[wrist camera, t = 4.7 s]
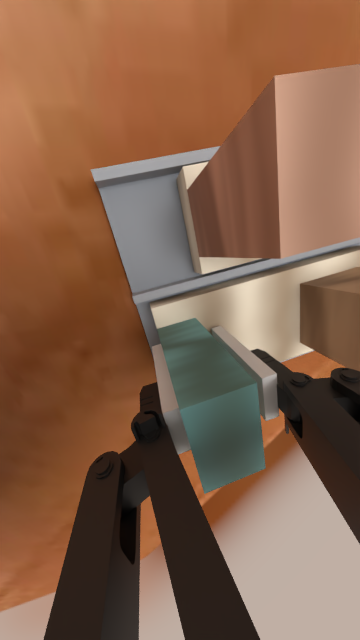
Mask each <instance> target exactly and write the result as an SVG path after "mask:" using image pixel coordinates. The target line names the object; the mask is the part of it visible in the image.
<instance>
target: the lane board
mask: <svg viewBox="0 0 360 640" xmlns="http://www.w3.org/2000/svg"><path fill="white" fill-rule="evenodd" d="M219 148H220V146H218V147H213V148H208V149H202V150H197V151H191V152H186V153H180V154H175V155H169V156H164V157H158V158H153V159H147V160H142V161H136V162H131V163H125V164H120V165H114V166H109V167H103V168H98V169H92V170H91V171H92V175H93V178H94V181H95V183H96V185H97V186H98V188H99V191H100V194H101V197H102V201H103V204H104V207H105V210H106V213H107V216H108V219H109V222H110V225H111V228H112V231H113V235H114V238H115V241H116V244H117V247H118V250H119V253H120V256H121V259H122V262H123V265H124V269H125V272H126V275H127V278H128V281H129V284H130V287H131V290H132V293H133V294H132V297H133V300H134V303H135V304H136V306H137V309H138V312H139V315H140V318H141V321H142V324H143V327H144V330H145V334H146V337H147V340H148V343H149V346H150V349H151V352H152V355H153V351H152V346H155V345H159V344H161V342H160V338H159V335H158V331H157V327H156V324H155V321H154V317H153V314H152V311H151V307H150V303H149V302H152V301H156V300H160V299H163V298H167V297H171V296H174V295H178V294H181V293H185V292H189V291H192V290H196V289H199V288H203V287H207V286H210V285H214V284H218V283H221V282H225V281H228V280H232V279H236V278H239V277H243V276H246V275H250V274H254V273H257V272H261V271H265V270H268V269H272V268H275V267H279V266H283V265H286V264H290V263H294V262H297V261H301V260H304V259H308V258H312V257H315V256H319V255H322V254H326V253H330V252H333V251H337V250H341V249H344V248H348V247H351V246H360V237H359V238H355V239H352V240H348V241H344V242H341V243H337V244H333V245H330V246H326V247H322V248H319V249H315V250H311V251H308V252H304V253H300V254H296V255H293V256H289V257H285V258H282V259H268V258H262V259H258V260H254V261H251V262H247V263H243V264H240V265H236V266H232V267H228V268H225V269H221V270H217V271H213V272H210V273H206V274H199V273H196V272H194V267H193V262H192V257H191V252H190V247H189V242H188V237H187V232H186V226H185V221H184V216H183V211H182V206H181V201H180V196H179V191H178V185H177V180H176V179H177V177H178V175H179V173H180V171H181V169H182V167H183V166H188V165H194V164H199V163H204V162H209V161H210V159H211V158H212V157H213V156H214V154H215V153H216V152H217V150H218V149H219ZM313 351H315V350H313ZM310 352H312V351H310ZM310 352H307V353H310ZM307 353H304V354H307ZM304 354H301V355H304ZM301 355H298V356H301ZM298 356H295V357H298ZM295 357H293V358H295ZM290 359H292V358H290ZM287 360H289V359H287ZM284 361H286V360H284ZM284 361H281V362H284ZM281 362H280V363H281Z"/></svg>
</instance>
